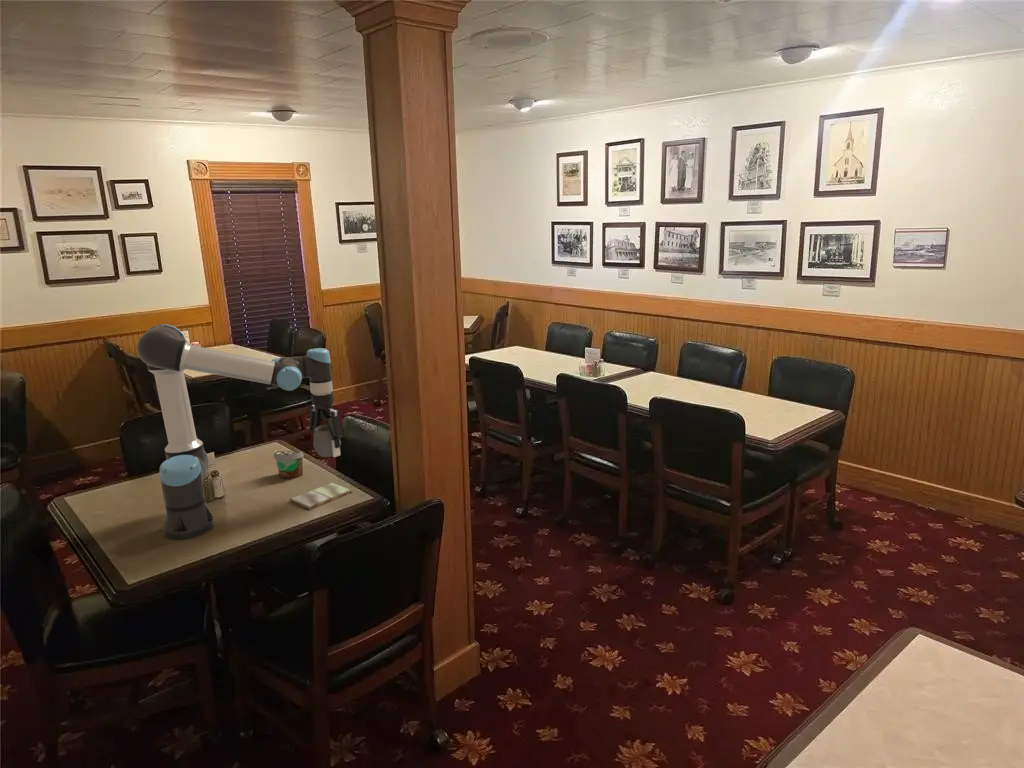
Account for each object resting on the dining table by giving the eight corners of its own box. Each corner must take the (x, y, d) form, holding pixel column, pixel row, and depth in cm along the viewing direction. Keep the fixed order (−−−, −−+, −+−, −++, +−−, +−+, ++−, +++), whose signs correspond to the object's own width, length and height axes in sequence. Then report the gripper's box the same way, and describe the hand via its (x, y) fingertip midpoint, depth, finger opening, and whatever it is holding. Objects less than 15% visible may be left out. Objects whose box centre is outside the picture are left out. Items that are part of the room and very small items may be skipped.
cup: (345, 450, 242) (343, 424, 239) (336, 459, 233) (333, 432, 230) (320, 450, 243) (317, 423, 240) (310, 459, 234) (307, 432, 231)
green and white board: (310, 509, 228) (309, 506, 227) (289, 501, 235) (289, 498, 235) (352, 492, 241) (352, 489, 241) (331, 485, 249) (331, 482, 248)
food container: (269, 478, 256) (266, 454, 254) (278, 472, 262) (276, 448, 260) (296, 481, 253) (294, 456, 250) (306, 475, 259) (303, 451, 256)
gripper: (350, 394, 228) (356, 456, 234) (312, 386, 242) (318, 444, 247) (332, 399, 223) (338, 462, 228) (294, 390, 236) (300, 450, 242)
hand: (327, 453), depth 238 cm, fingers closed on cup, 9 cm apart
